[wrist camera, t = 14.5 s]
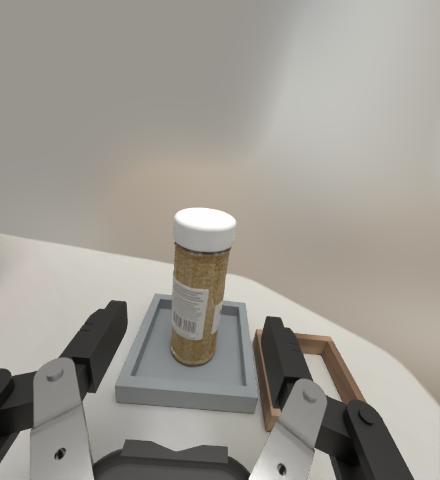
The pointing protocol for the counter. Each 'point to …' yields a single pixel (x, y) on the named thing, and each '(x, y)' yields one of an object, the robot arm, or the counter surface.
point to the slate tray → (185, 376)
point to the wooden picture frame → (311, 346)
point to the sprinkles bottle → (199, 281)
